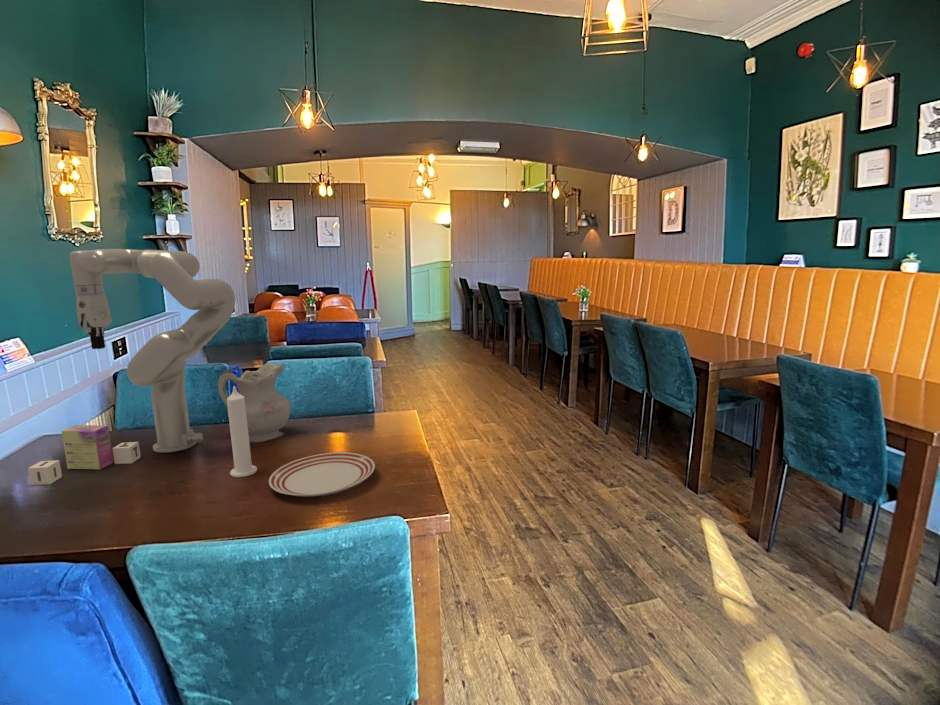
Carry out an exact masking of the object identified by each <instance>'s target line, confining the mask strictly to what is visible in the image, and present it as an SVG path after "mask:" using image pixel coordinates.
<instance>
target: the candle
mask: <svg viewBox="0 0 940 705" xmlns="http://www.w3.org/2000/svg"><path fill="white" fill-rule="evenodd" d="M227 406H228V407H227ZM227 406H226V407H227V416H228V415H229V416H228V421H229V432H230V439H231V447H232V448H231V450H232V457H233V458H232V459H233V464H234V465H233V468H232V469H231V470H230V471H229V474H230V476H231V477H233V478H243V477H249V476H251V475H254V474H256V473H257V471H258V467H257V466H256V465H253V464H252V455H251V446H250V442H249V435H248V426H247V416H246V407H245V398H244V396H242V395H241V394H239V391H238V390H237V386H235V385H233V387H232V392H231V394H230V395H229V396H228V398H227Z"/></svg>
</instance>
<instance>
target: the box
mask: <svg viewBox="0 0 940 705" xmlns="http://www.w3.org/2000/svg"><path fill="white" fill-rule="evenodd" d="M61 437H62V442H63V450H64V454H65V462H66V468H67V470H99V471H100V470H102V469H104V468H106V467H108V466H110V465H112V464H113V463H114V456H113V449H112V442H111V435H110V427H109V425H95V424H94V425H92V424H91V425H85V424H83V425H81V424H80V425H79V424H77V425H72V426H70V427H68V428H65V429H63V430H61Z"/></svg>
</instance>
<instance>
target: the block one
mask: <svg viewBox="0 0 940 705" xmlns="http://www.w3.org/2000/svg"><path fill="white" fill-rule="evenodd" d="M27 470H28V476H29V481H30V485H31V486H41V485H52V484H53V483H54V482H56V481H57V480H60V479H62V478H63V474H62V469H61V463H60V460H58V459H57V460H42V461H41V460H40V461H39V462H36V463H35V464H33V465H31V466H29V467H28V468H27Z"/></svg>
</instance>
